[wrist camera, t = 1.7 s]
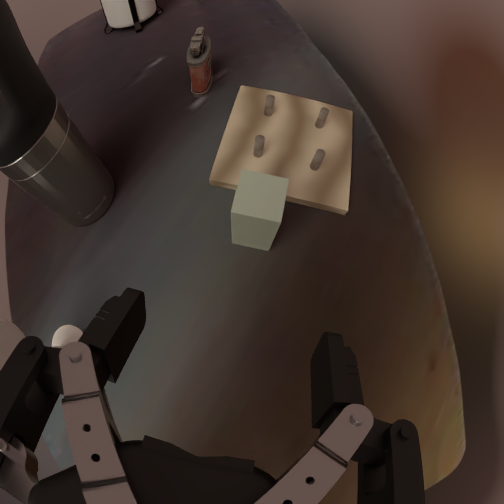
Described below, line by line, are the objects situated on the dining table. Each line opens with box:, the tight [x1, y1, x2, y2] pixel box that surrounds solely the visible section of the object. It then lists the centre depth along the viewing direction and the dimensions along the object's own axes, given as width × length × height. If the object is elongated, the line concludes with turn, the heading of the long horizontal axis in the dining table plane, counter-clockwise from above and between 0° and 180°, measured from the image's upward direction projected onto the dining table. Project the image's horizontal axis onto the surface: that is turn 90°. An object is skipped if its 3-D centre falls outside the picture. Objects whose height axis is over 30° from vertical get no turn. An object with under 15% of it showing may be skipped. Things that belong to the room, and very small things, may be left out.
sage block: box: [231, 169, 289, 251], centre depth 31 cm, size 4×4×10 cm
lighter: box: [187, 27, 213, 97], centre depth 37 cm, size 8×3×10 cm, turn 178°
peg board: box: [209, 85, 352, 215], centre depth 36 cm, size 18×18×5 cm
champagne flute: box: [0, 319, 83, 371], centre depth 19 cm, size 7×7×24 cm
